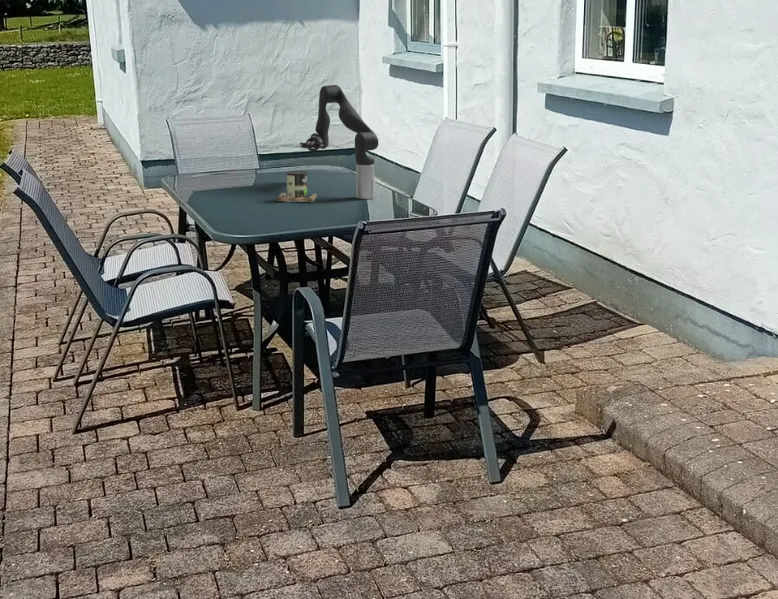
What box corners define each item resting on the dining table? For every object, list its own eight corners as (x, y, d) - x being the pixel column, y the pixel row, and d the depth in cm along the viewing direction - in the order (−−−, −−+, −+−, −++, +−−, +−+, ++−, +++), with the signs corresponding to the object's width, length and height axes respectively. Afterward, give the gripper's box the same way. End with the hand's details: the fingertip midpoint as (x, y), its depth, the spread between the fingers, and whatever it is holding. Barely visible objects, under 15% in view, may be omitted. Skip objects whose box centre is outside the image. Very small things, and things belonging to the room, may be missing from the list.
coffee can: (309, 198, 499) (309, 171, 495) (304, 202, 489) (303, 174, 485) (290, 198, 500) (289, 170, 497) (284, 201, 491) (283, 173, 487)
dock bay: (316, 198, 500) (316, 194, 499) (312, 203, 486) (312, 198, 486) (282, 197, 502) (282, 193, 501) (276, 202, 488) (276, 197, 488)
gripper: (301, 136, 525) (296, 139, 508) (326, 136, 524) (321, 139, 507) (302, 150, 527) (296, 153, 510) (326, 150, 526) (321, 153, 509)
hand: (308, 146), depth 509 cm, fingers closed
